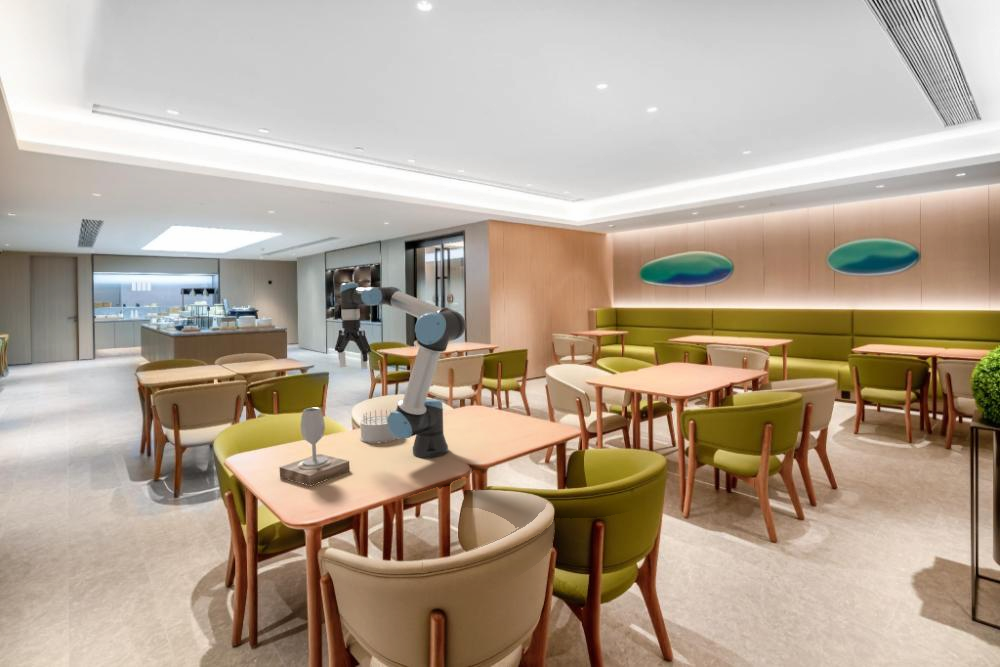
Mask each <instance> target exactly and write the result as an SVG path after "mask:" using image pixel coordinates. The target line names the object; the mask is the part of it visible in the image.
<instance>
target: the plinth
mask: <svg viewBox="0 0 1000 667" xmlns="http://www.w3.org/2000/svg"><path fill="white" fill-rule="evenodd" d="M316 456H317V457H323V458H326V459H327V461H326V462H325V463H324V464H321V465H318V466H305V465H303V464H302V463H303V462H304V461H305V460H306V459H310V458H313V455H312V456H308V457H305V458H303V459H299V460H297V461H294V462H291V463H288V464H285V465H282V466H279V478H280V477H283V478H286V479H285V480H287V479H289V480H288V481H290V480H293V481H297V482H300V483H304V484H307V485H313V484H316V483H318V482H321V481H323V482H325V481H324V480H326V479H328V480H330V479H329V478H331V477H333V478H335V477H334V476H336V475H338V476H340V475H339V474H341V475H343V474H345V473H344V472H346V473H348V472H350V471H351V470H350V460H347V459H342V458H339V457H334V456H330V455H326V454H322V453H316ZM349 470H350V471H349ZM347 471H348V472H347ZM342 473H343V474H342ZM336 477H337V476H336ZM283 478H282V479H283ZM331 479H332V478H331ZM293 481H292V482H293ZM326 481H327V480H326ZM297 482H296V483H297ZM300 483H299V484H300ZM321 483H322V482H321ZM304 484H303V485H304ZM318 484H319V483H318ZM307 485H306V486H307ZM316 485H317V484H316ZM313 486H314V485H313Z"/></svg>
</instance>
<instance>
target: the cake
mask: <svg viewBox="0 0 1000 667" xmlns="http://www.w3.org/2000/svg"><path fill="white" fill-rule="evenodd" d="M374 413H375V414H374V416H372V411H371V410H370V412H369V417H368V413H367V412H365V415H363V419H362V420H360V421H359V424H360V437H359V441H361V442H362V441H364V442H363V443H365V442H368V443H367V444H379V443H378V442H384V443H386V442H385V441H389V442H391V441H390V440H393V439H395V440H397V439H396V437H395V436H394V435H393V434H392V433H391V432H390V429H389V427H388V423H387V420H388V416H389V415H388V410H387V409H385V415H383V412H382V409H380V415H377V410H376V409H375V410H374ZM390 413H392V411H391V409H390V410H389V414H390ZM393 441H394V440H393Z"/></svg>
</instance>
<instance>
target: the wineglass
mask: <svg viewBox="0 0 1000 667" xmlns="http://www.w3.org/2000/svg"><path fill="white" fill-rule="evenodd" d="M325 430H326V424H325V419H324V413H323V411H322V409H321V408H320V407H308V408H305V409H303V410H302V414H301V419H300V433H301V435H302V438H303V440H305V441H306V442H307V443H309V444H310V445H311V453H312V456H313V458H310V459H306V460H305V461H304V462H303V463H302V464H303V465H305V466H318V465H321V464H324V463H325V462H326V461H327V459H326V458H323V457H317V456H316V455H317V443H318V442H320V441H321V439H322V438H323V437H324V433H325Z"/></svg>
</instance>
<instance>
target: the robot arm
mask: <svg viewBox="0 0 1000 667" xmlns="http://www.w3.org/2000/svg"><path fill="white" fill-rule="evenodd" d="M339 294H340V306H341V319H342V320H341V325H342V326H341V328H342V329H339V330H338V336H337V339H336V343H335V347H334V350H335V351H337V353H338V360H339V368H346V367H347V365H346V364H347V362H346V352H345V349H346V347H347V346H348V344H349V342H350V341H351V342H354V343H355V344H356V346H357V348H358V349H359V351H360V353H361V354H360V370H361V371H362V370H367V369H368V359H369V358H368V357H369V356H368V354H369V353H371V352H372V349H371V347H370V345H369V341H368V339H367V336H366V331H365V330H360V328H361V320H360V318H361V313H360V309H361V308H360V306H369V307H370V306H379V305H380V306H381V305H387V306H390V307H392V308H395V309H396V310H399V311H401V312H404V313H406V314H408V315H411V316H413V317H415V318H417V320H416V323H415V326H414V333H415V337H416V340H417V341H416V344H417V345H418V349H417V353H416V357H415V359H414V364H413V367H412V370H411V373H410V376H409V379H408V380H409V381H408V382H407V387H406V389H405V393H404V396H403V398H402V399H399V401H398V402H397V406H396V410H392V411H391V413H390V412H389V414H388V415H387V416H388V420H387V423H388V427H389V429H390V432H391V433H392V434H393V435H394V436H395V437H396V438H397V439H399V440H405V439H410V438H411V437H414V436H415V438H414V442H413V446H412V455H413V454H414V455H413V456H415V457H418V456H419V458H425V457H429V458H437V457H441V456H443V455H446V454H447V453H448V452H449V446H448V443H447V441H446V438H445V434H444V407H443V402H442V401H441V400H440V399H435V398H427V397H428V394H429V391H430V389H431V384H432V382H433V379H434V375H435V372H436V369H437V366H438V363H439V360H440V356H441V353H444V352H446V350H447V349H448V344H449V342H450V341H455V340H457V339H459V338H460V337H461V338H462V336H463V335H464V333H465V332H466V331H465V330H466V326H467V323H466V319H465V318H464V316H463V315H462V314H461V313H460V312H458V311H456V310H454V309H452V308H448V307H439V306H437V305H434V304H431V303H430V302H427V301H425V300H422V299H420V298H417V297H415V296H413V295H410V294H408V293H406V292H403V291H402V290H401V289H400V288H399V287H395V286H385V287H384V286H380V287H379V286H377V287H376V286H375V287H374V286H366V287H365V286H364V287H359V284H358V282H357V283H356V282H353V283H351V282H347V283H345V282H344V283H341V284H340V293H339Z"/></svg>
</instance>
